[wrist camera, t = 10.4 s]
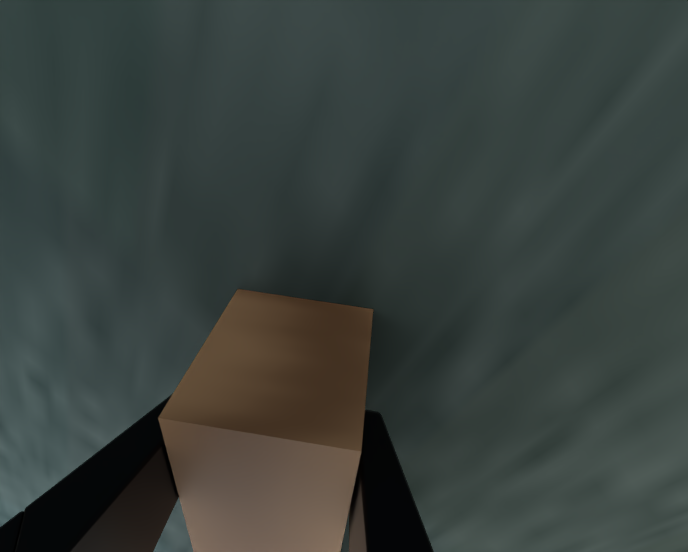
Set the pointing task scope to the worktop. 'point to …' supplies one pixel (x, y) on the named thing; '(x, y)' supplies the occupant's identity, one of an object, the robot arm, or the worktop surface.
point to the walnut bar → (271, 425)
